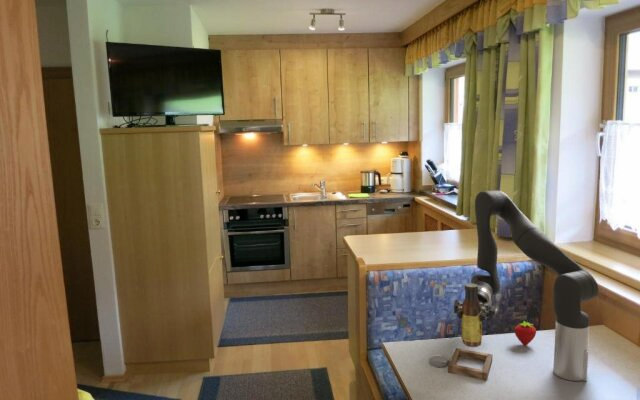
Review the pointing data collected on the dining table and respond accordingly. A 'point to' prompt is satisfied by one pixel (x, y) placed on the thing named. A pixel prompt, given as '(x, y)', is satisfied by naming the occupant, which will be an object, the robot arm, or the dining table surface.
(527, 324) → the strawberry
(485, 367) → the pocket frame
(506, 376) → the dining table surface
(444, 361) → the coaster
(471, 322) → the sauce bottle
